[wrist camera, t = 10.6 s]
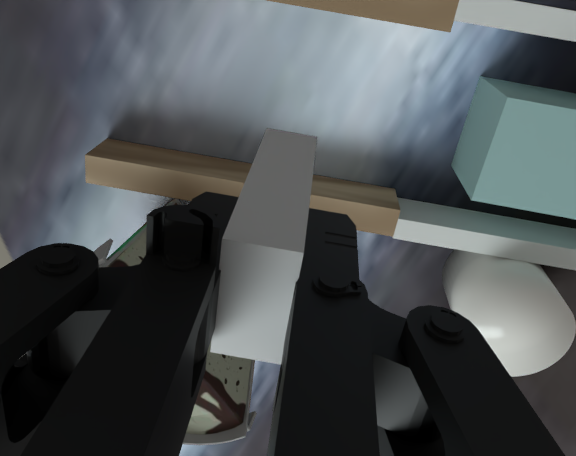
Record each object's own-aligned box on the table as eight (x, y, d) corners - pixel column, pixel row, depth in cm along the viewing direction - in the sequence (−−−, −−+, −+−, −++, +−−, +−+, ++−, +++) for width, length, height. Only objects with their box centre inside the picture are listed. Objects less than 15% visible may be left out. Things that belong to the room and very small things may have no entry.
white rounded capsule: (457, 226, 31) (482, 280, 26) (550, 242, 31) (594, 300, 26) (431, 302, 34) (448, 366, 28) (516, 317, 34) (550, 384, 28)
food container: (86, 222, 33) (-5, 316, 24) (161, 176, 31) (92, 260, 22) (200, 357, 37) (157, 479, 28) (272, 324, 36) (251, 444, 27)
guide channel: (106, -69, 26) (79, -73, 23) (448, -9, 26) (461, -6, 23) (107, 163, 31) (85, 182, 29) (388, 213, 31) (393, 236, 28)
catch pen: (448, -12, 26) (461, -9, 23) (777, 45, 25) (829, 55, 23) (387, 214, 31) (392, 238, 28) (656, 261, 31) (686, 289, 28)
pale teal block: (479, 75, 27) (507, 97, 23) (573, 93, 27) (620, 117, 23) (450, 164, 30) (471, 200, 25) (537, 180, 30) (573, 219, 25)
